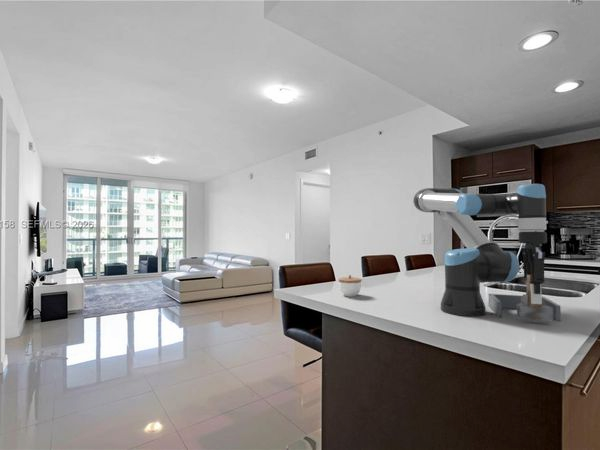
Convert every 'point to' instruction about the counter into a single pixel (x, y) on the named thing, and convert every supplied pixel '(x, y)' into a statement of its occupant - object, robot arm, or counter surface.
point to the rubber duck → (524, 299)
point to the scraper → (533, 307)
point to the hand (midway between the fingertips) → (534, 302)
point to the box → (512, 300)
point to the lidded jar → (350, 286)
